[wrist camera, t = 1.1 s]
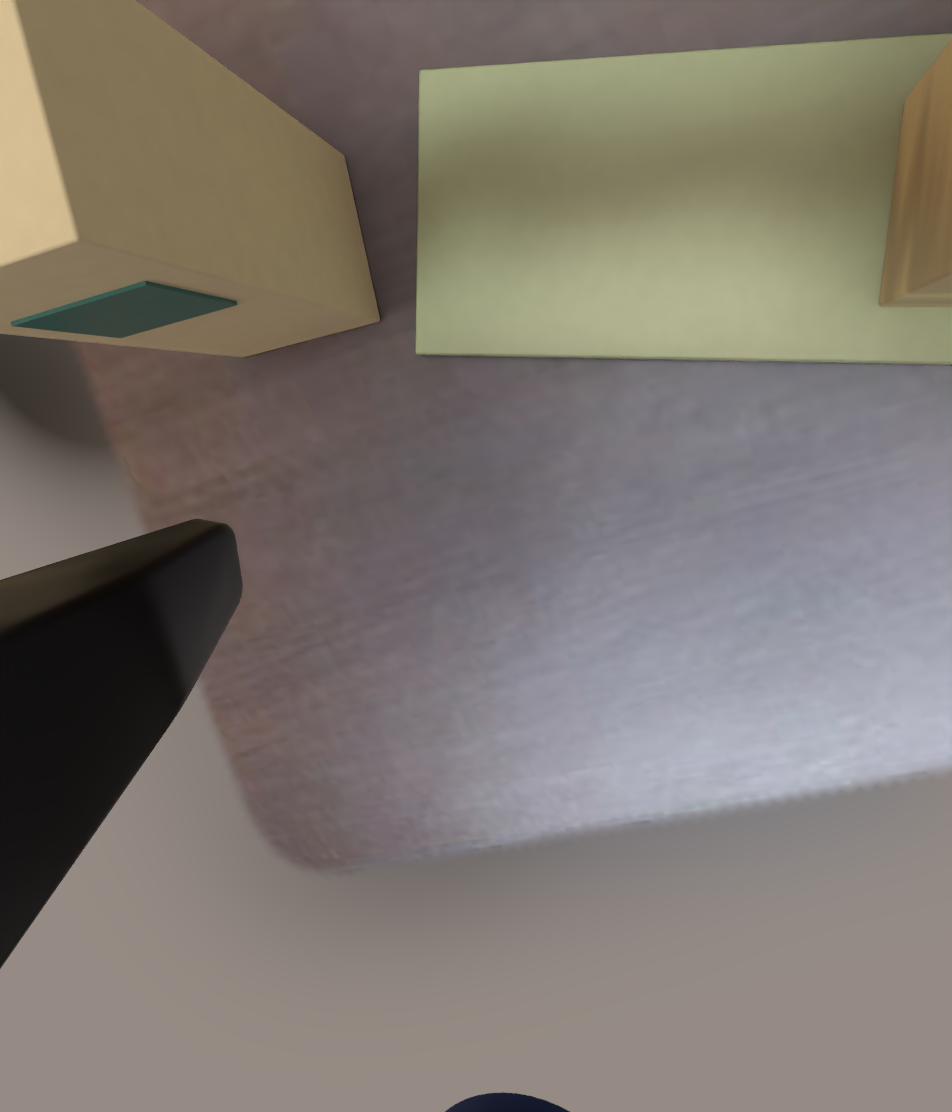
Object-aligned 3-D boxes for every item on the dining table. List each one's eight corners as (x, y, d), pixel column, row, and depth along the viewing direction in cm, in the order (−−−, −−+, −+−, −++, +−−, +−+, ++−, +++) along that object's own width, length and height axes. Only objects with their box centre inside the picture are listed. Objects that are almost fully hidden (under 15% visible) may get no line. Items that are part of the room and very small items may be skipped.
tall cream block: (382, 324, 22) (79, 246, 11) (243, 360, 24) (-157, 324, 12) (345, 154, 22) (-18, -116, 10) (204, 201, 23) (-259, 6, 12)
